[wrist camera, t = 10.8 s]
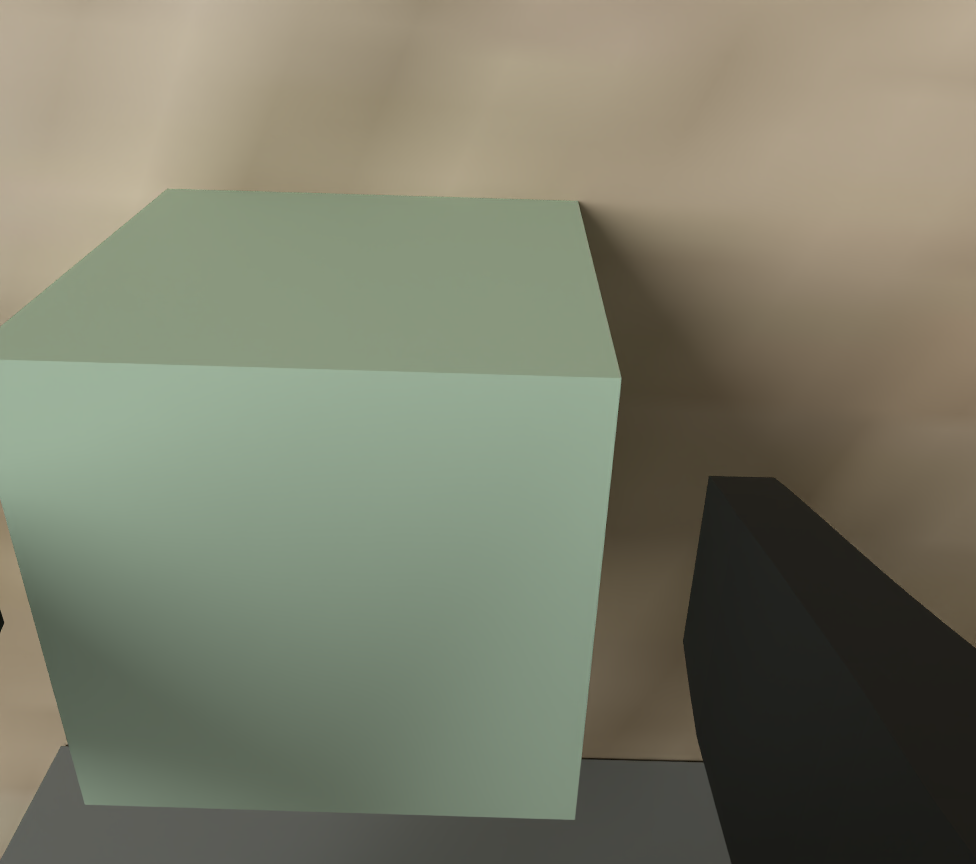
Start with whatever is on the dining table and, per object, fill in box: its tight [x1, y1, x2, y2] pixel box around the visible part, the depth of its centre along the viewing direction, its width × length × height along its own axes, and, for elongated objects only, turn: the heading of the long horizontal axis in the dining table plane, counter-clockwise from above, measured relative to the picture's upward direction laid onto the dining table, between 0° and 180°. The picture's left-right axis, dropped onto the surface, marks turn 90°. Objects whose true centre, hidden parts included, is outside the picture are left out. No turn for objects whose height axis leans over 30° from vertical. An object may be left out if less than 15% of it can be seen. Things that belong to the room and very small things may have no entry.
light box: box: [0, 189, 621, 820], centre depth 10 cm, size 5×5×5 cm
